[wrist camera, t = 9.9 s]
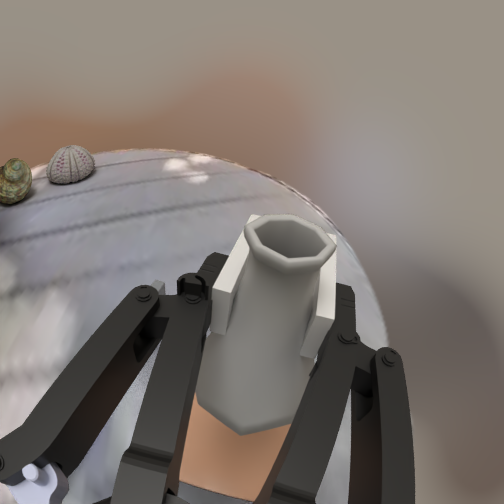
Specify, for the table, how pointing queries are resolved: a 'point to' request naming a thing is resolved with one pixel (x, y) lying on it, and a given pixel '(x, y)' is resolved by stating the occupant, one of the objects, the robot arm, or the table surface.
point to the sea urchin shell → (70, 165)
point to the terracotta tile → (228, 456)
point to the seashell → (14, 181)
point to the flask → (266, 328)
